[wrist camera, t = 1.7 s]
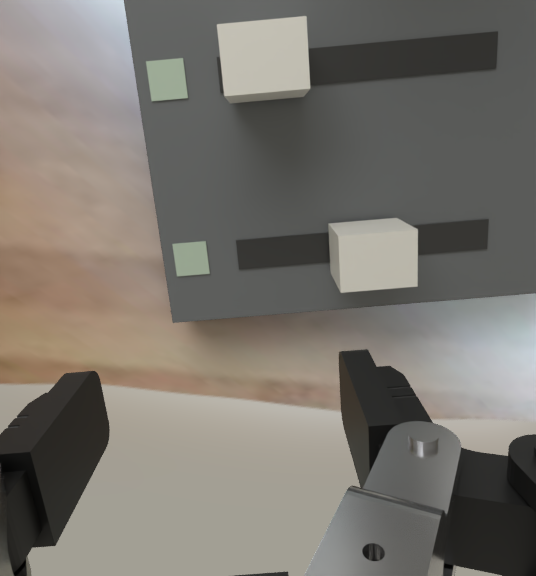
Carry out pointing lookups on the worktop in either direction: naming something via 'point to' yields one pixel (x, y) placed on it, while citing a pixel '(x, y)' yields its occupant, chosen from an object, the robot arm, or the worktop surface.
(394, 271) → the block
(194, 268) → the breaker panel
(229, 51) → the handle
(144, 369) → the worktop surface
